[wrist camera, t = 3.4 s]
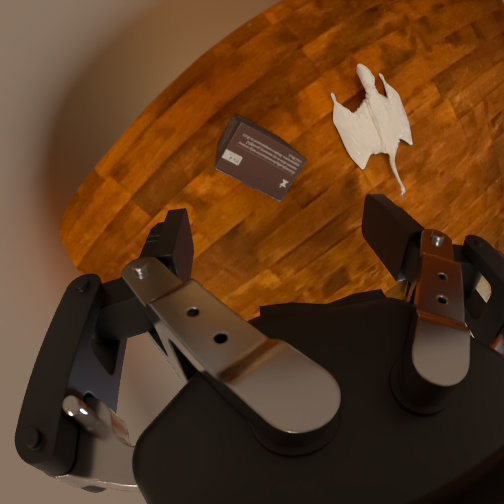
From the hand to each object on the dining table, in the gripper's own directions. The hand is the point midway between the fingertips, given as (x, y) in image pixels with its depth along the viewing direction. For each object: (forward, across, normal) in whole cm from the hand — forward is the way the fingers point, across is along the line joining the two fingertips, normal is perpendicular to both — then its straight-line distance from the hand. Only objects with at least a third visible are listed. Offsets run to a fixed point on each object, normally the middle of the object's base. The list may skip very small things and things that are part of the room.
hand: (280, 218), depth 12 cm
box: (+22, 0, 0) cm, 22 cm away
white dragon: (+22, -16, 0) cm, 27 cm away
